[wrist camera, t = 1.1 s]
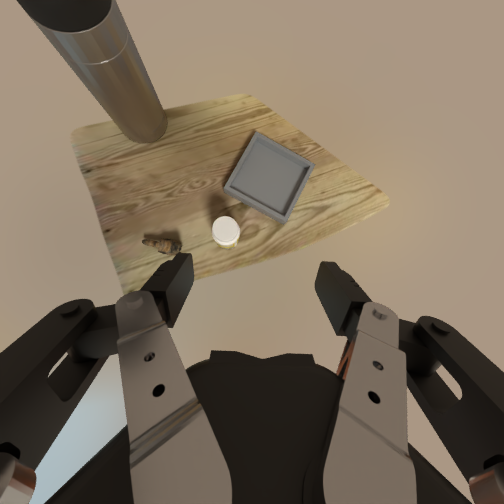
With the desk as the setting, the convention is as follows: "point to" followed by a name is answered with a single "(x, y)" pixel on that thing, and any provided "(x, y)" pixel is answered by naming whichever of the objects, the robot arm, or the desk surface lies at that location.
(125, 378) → the robot arm
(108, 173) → the desk surface
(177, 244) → the cat figurine
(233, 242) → the supplement bottle
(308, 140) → the desk surface
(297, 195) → the tray
